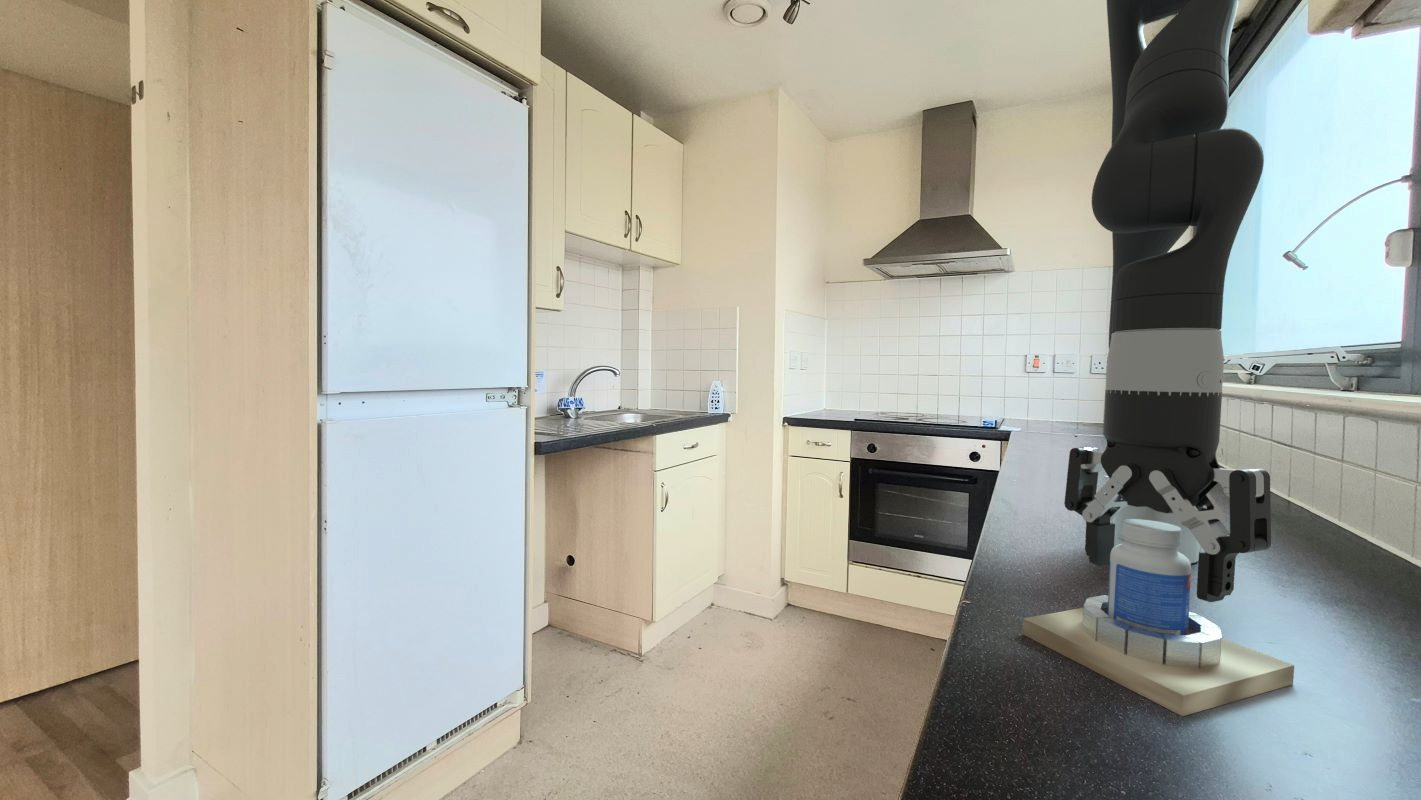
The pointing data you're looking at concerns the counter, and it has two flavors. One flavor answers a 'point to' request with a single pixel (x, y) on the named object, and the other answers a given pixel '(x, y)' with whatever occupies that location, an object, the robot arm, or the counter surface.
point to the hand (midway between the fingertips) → (1150, 580)
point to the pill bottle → (1150, 578)
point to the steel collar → (1154, 638)
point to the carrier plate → (1164, 667)
